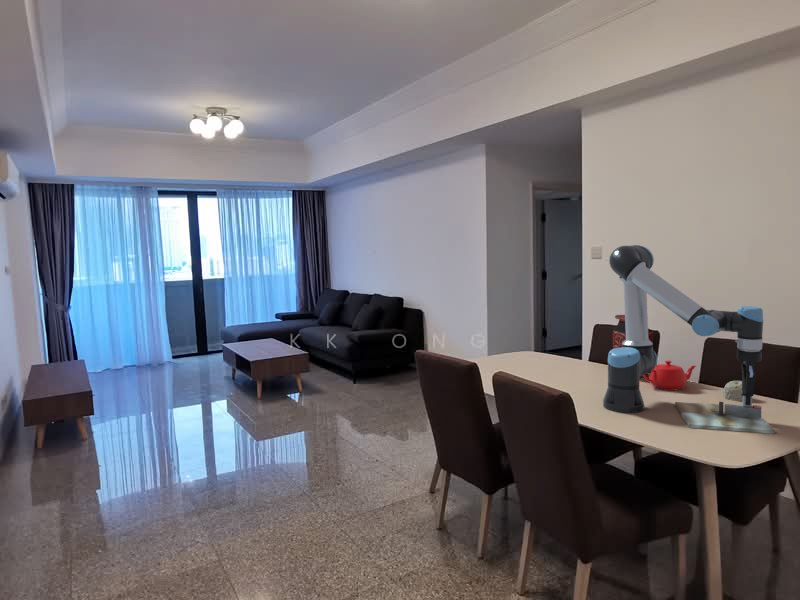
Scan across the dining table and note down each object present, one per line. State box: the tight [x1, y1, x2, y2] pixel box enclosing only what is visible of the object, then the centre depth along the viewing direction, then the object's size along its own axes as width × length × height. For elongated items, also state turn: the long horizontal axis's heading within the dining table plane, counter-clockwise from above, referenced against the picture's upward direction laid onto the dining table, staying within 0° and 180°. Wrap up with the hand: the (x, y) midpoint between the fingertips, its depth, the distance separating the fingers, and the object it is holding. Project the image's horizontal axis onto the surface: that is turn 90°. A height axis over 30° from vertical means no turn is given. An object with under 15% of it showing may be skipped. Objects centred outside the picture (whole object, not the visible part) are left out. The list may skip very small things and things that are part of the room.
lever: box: [724, 403, 763, 418], centre depth 191 cm, size 3×11×4 cm, turn 62°
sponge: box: [722, 380, 743, 402], centre depth 218 cm, size 9×10×10 cm
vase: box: [612, 314, 654, 378], centre depth 260 cm, size 14×14×30 cm
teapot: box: [642, 360, 697, 391], centre depth 238 cm, size 25×16×12 cm, turn 93°
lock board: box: [675, 401, 776, 434], centre depth 194 cm, size 26×28×6 cm
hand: (746, 412), depth 192 cm, fingers closed
